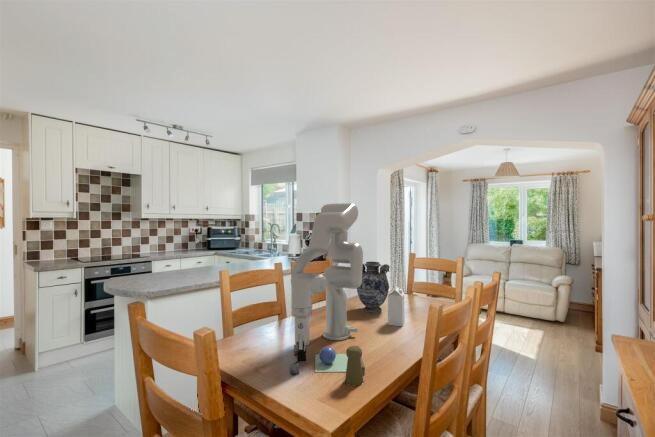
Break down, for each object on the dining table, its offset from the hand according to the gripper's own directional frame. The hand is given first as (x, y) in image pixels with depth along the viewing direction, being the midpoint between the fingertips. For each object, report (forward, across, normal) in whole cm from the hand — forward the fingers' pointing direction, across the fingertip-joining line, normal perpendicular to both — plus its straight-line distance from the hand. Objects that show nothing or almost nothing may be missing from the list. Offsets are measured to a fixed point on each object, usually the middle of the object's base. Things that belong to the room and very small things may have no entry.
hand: (301, 360), depth 114 cm
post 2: (+1, -8, +2) cm, 8 cm away
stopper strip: (+1, 0, -21) cm, 21 cm away
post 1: (+1, +8, +2) cm, 8 cm away
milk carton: (+1, +42, -45) cm, 62 cm away
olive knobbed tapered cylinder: (+1, -13, -18) cm, 22 cm away
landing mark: (+1, 0, -12) cm, 12 cm away
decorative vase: (+1, +66, -37) cm, 76 cm away
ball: (-2, 0, -10) cm, 10 cm away
